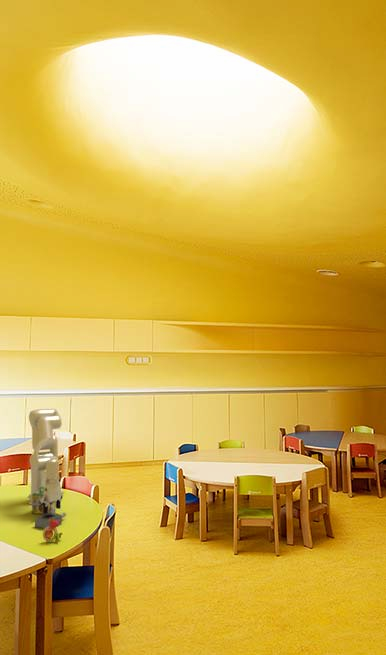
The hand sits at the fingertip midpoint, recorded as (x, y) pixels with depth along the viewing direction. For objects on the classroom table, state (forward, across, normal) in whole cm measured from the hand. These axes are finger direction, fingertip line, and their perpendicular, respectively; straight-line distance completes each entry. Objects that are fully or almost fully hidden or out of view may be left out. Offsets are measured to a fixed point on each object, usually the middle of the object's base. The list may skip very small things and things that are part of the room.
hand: (51, 510), depth 264 cm
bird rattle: (+4, -28, -30) cm, 41 cm away
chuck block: (+3, -9, -10) cm, 14 cm away
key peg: (+3, 0, 0) cm, 3 cm away
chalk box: (+4, +4, +12) cm, 13 cm away
